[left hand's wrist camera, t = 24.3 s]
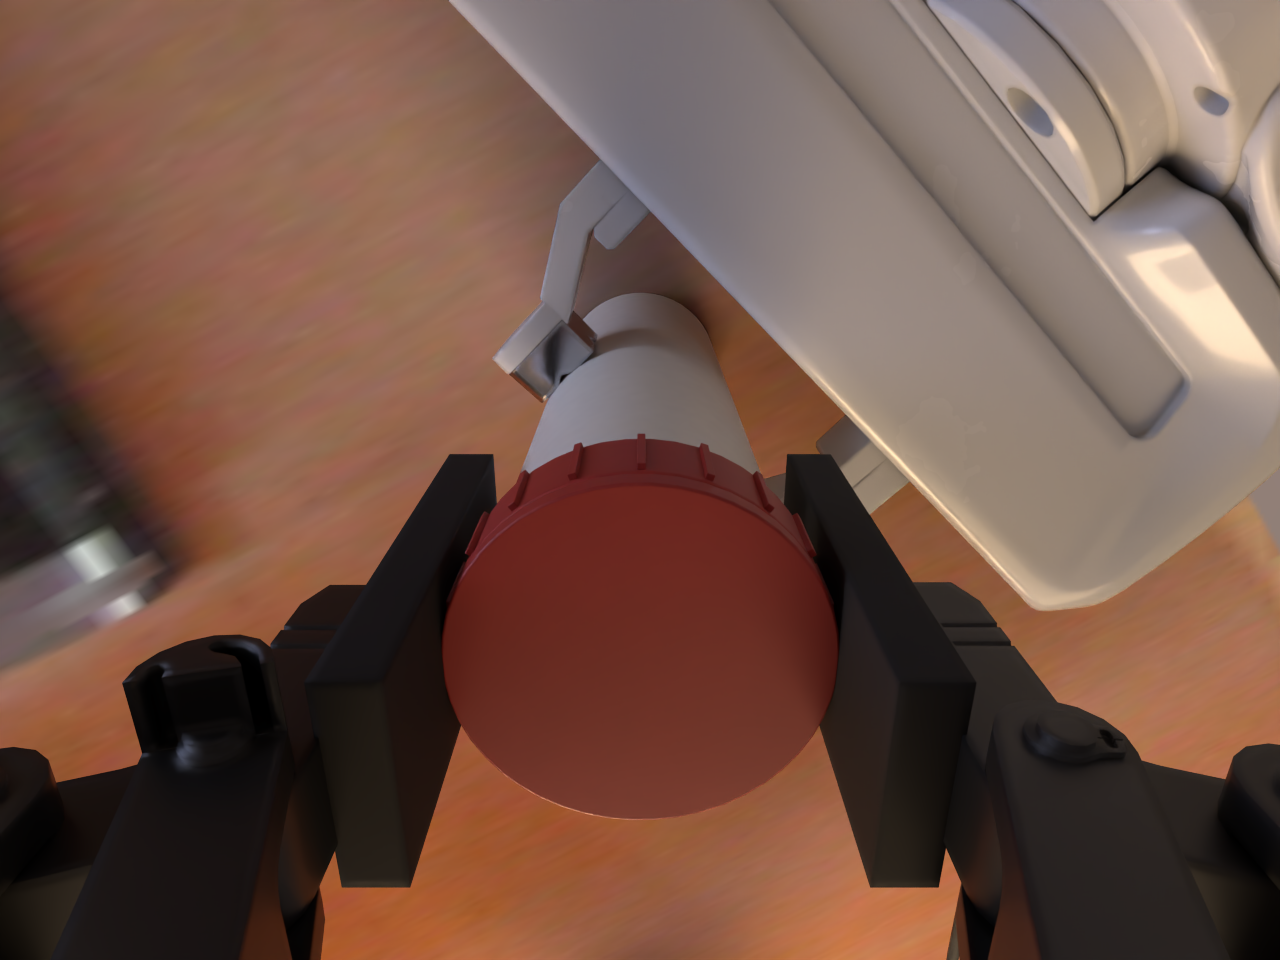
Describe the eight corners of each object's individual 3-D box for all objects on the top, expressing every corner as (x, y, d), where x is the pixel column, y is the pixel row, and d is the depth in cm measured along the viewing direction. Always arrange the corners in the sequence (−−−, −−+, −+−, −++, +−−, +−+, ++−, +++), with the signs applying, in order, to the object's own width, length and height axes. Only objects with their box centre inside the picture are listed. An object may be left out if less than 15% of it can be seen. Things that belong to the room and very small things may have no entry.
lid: (489, 754, 13) (469, 835, 11) (432, 446, 11) (397, 493, 9) (816, 733, 13) (841, 814, 11) (818, 417, 11) (848, 460, 9)
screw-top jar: (687, 454, 26) (739, 789, 12) (549, 414, 26) (442, 716, 12) (735, 318, 25) (858, 528, 11) (589, 272, 24) (519, 430, 10)
